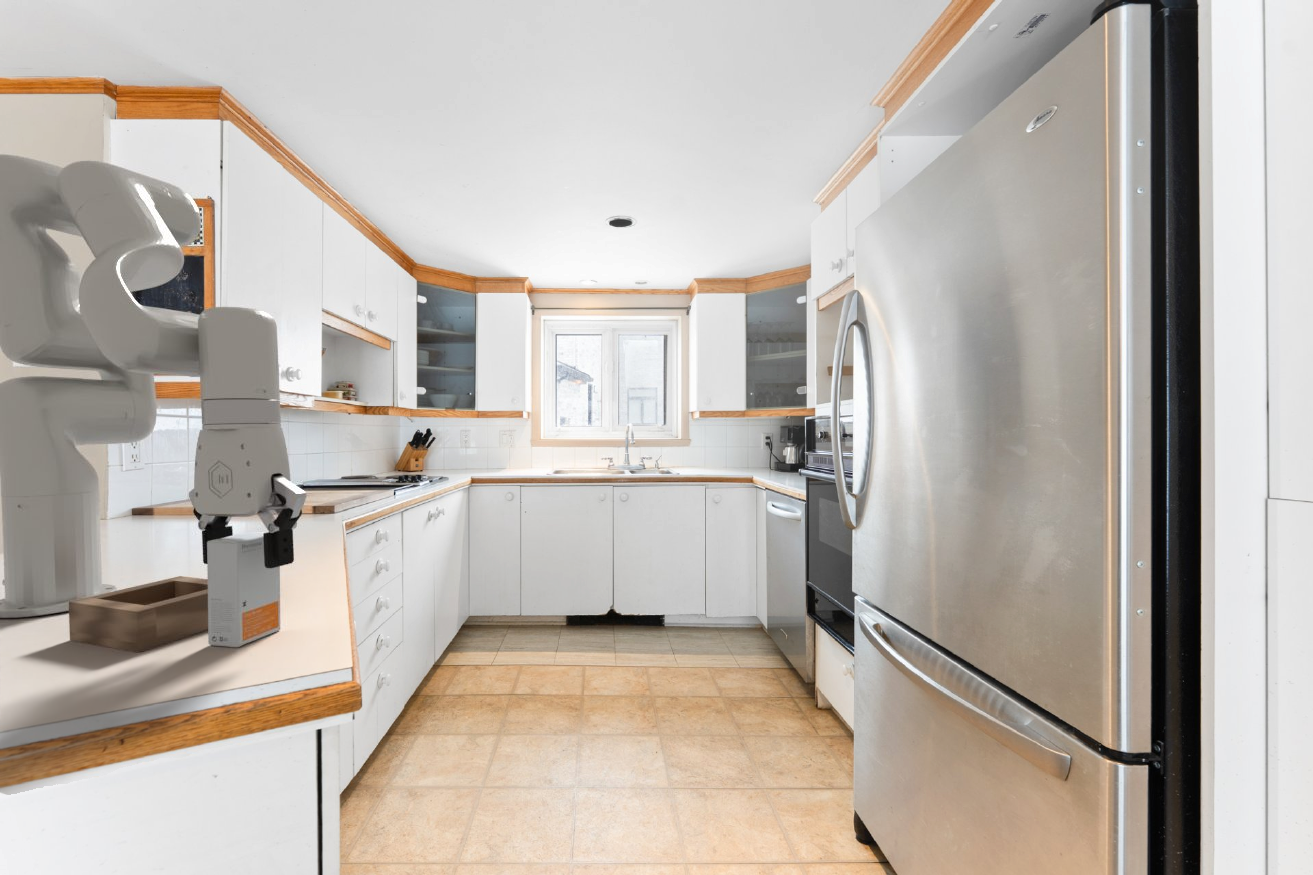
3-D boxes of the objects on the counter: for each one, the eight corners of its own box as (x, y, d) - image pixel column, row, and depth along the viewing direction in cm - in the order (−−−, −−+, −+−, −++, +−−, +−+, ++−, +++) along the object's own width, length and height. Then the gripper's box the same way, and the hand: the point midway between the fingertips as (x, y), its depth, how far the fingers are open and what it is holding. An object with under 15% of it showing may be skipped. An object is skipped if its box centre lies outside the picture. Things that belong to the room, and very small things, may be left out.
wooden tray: (69, 640, 69) (68, 601, 69) (180, 609, 81) (179, 576, 81) (138, 652, 66) (137, 611, 65) (245, 618, 77) (244, 583, 77)
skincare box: (239, 648, 66) (236, 542, 66) (207, 646, 67) (204, 540, 67) (283, 630, 72) (281, 532, 72) (253, 627, 73) (251, 530, 73)
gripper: (155, 419, 68) (162, 567, 69) (266, 413, 63) (273, 575, 63) (222, 419, 75) (227, 553, 76) (327, 414, 70) (332, 559, 70)
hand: (248, 563), depth 69 cm, fingers open, 9 cm apart
